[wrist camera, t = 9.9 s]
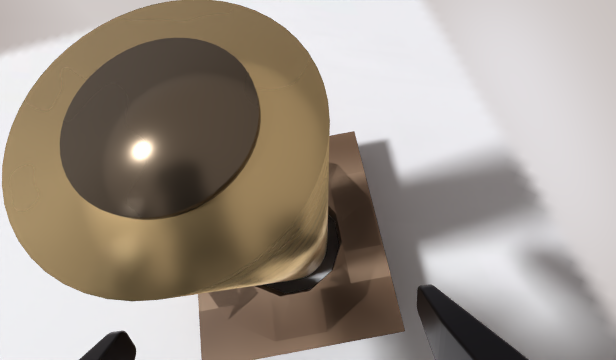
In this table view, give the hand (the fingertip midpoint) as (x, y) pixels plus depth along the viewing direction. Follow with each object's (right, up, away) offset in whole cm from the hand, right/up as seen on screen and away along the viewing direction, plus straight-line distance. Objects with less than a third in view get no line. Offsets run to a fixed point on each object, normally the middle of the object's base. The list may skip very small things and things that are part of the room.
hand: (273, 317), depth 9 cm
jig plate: (0, 0, +9) cm, 9 cm away
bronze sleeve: (0, 0, +9) cm, 9 cm away
